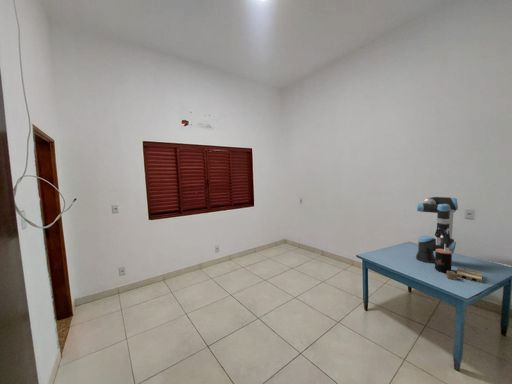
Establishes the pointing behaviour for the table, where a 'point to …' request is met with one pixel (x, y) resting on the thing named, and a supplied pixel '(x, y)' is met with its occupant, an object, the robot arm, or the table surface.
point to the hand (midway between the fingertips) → (442, 248)
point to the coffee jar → (443, 260)
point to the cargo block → (451, 275)
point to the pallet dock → (469, 274)
